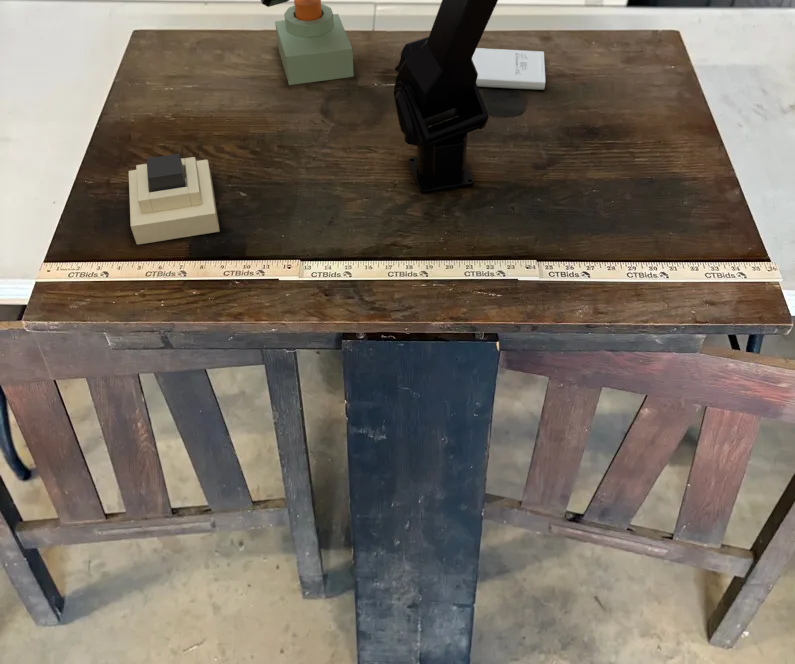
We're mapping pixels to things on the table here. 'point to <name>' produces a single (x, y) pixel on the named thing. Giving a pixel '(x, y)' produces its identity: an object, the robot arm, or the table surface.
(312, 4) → the far key
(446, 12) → the robot arm
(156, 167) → the near key
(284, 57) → the far pedestal
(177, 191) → the stepped pyramid pedestal
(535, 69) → the hard drive
